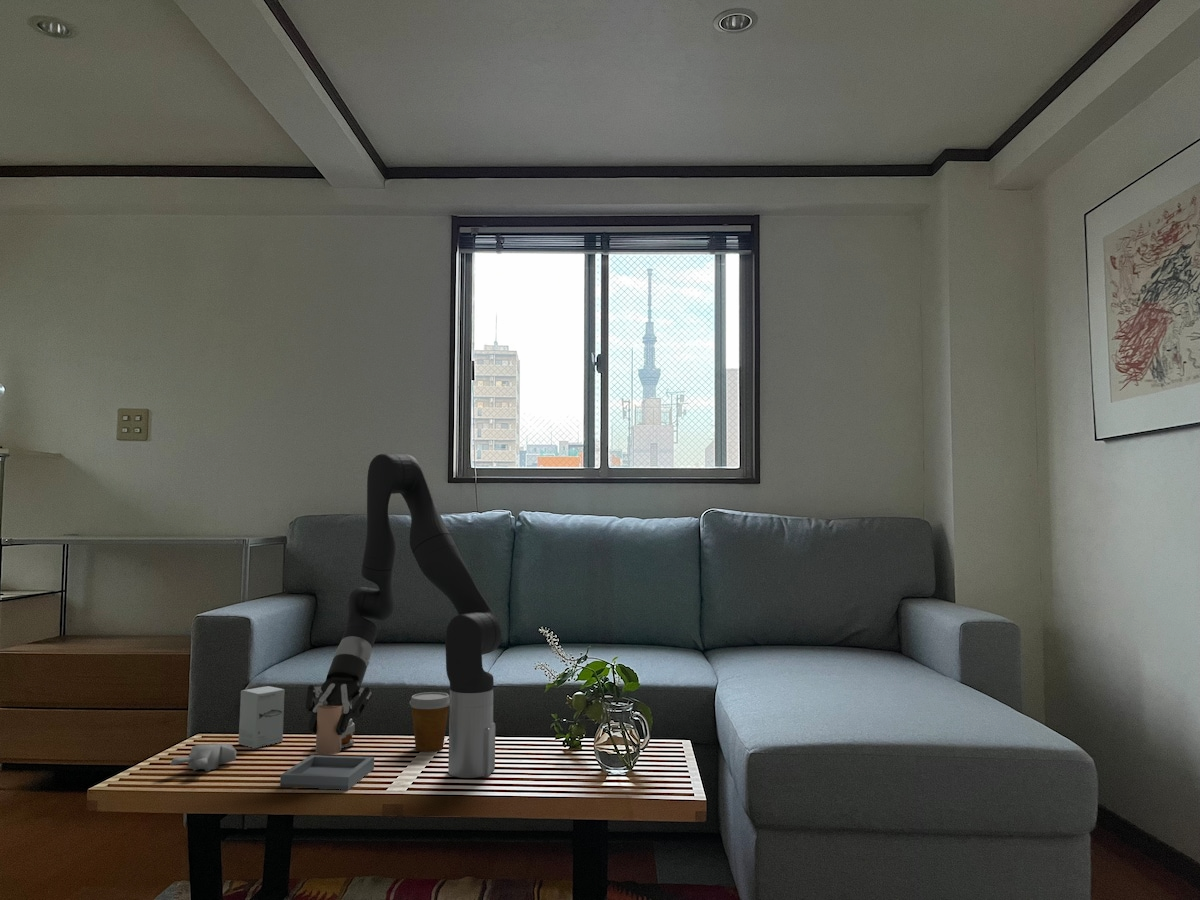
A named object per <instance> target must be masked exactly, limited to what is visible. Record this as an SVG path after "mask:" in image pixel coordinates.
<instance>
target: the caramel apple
mask: <svg viewBox="0 0 1200 900" xmlns="http://www.w3.org/2000/svg"><path fill="white" fill-rule="evenodd" d="M342 714H343V713H342ZM355 731H356V726H355V723H354V722H353V717H352V718H351V719H350V720H349V723H348V726H347V729H346V731H345V732H344V733H342V740H341V748H343V749H345V748H348V747H351V746H353V745H354V744H355V740H354V739H353V735H355V734H356V733H355ZM344 747H345V748H344Z"/></svg>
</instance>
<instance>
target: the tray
mask: <svg viewBox="0 0 1200 900" xmlns="http://www.w3.org/2000/svg"><path fill="white" fill-rule="evenodd" d="M374 769H375V756H356V755H355V756H351V755H350V756H349V755H348V756H347V755H324V754H317V755H316V754H311V755H309V756H308V757H305V759H303V760H302V761H299V763H297V764H295V765H293V766H292V767H291V768H289V769H288V770H286V771H285V772H283V773H281V774H279V775H280V780H279V781H280V782H279V788H280V787H305V788H319V789H318V790H327V789H339V790H338V791H350V790H351V789H352V788H353V787H354V786H355V785H356V784H358V783H359V782H360V781H362V778H363V777H364V776H365V777H366V776H368V775H369V774H370V773H371V772H372V771H373V770H374ZM369 772H370V773H369ZM368 773H369V774H368ZM365 777H364V778H365ZM364 778H363V779H364ZM357 782H358V783H357ZM351 787H352V788H351ZM340 789H341V790H340Z"/></svg>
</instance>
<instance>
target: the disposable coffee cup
mask: <svg viewBox="0 0 1200 900" xmlns="http://www.w3.org/2000/svg"><path fill="white" fill-rule="evenodd" d="M409 704H410V707H411V715H412V717H411V718H412V723H413V724H412V725H413V735H414V737H413V738H414V743H415V745H414V746H415V750H416V751H418V752H421V753H431V752H432V751H433V752H437V751H438V752H439V751H441V750H443V749H444V743H445V736H446V728H447V721H448V717H449V707H450V694H448V693H447V692H440V691H438V692H437V691H429V692H428V691H427V692H420V693H419V692H418V693H416V694H413V695H412V696H411V699H410V700H409ZM442 748H443V749H442Z"/></svg>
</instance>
